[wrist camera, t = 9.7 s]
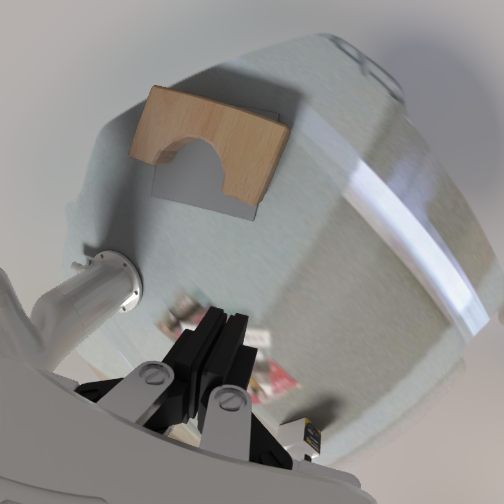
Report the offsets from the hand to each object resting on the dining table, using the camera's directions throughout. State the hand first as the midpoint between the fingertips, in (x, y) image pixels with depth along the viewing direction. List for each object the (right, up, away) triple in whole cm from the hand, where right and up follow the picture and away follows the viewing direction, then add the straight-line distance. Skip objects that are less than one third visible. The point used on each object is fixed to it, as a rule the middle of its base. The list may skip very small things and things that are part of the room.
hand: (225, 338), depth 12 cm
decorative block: (+4, +15, +24) cm, 28 cm away
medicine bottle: (+12, -36, +42) cm, 56 cm away
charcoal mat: (-5, +18, +28) cm, 34 cm away
